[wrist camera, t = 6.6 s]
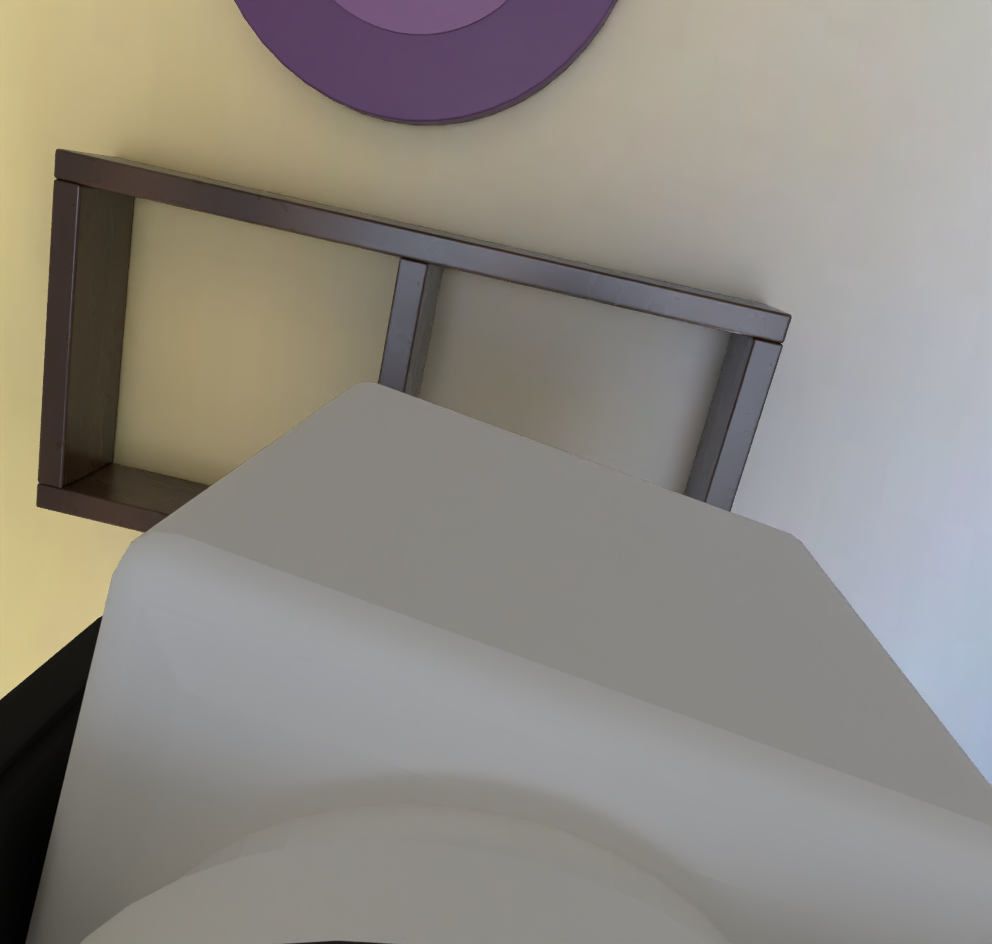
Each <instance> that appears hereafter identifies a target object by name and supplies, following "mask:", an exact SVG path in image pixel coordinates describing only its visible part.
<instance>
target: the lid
mask: <svg viewBox="0 0 992 944" xmlns="http://www.w3.org/2000/svg"><path fill="white" fill-rule="evenodd" d="M234 1H235V2H236V4H237V6H238V8H239V10H240V11H241V13H242V15H243V17H244V18H245V20H246V21H247V22H248V24H249V25H250V26H251V28H252V29H253V30H254V32H255V33H256V35H257V36H258V37H259V39H260V40H261V41H262V43H263V44H264V45H265V46H266V47H267V48H268V49H269V50H270V51H271V52H272V53H273V54H274V55H275V57H276V58H277V59H278V60H279V61H280V62H281V63H282V64H283V65H284V66H285V67H287V68H288V69H289V70H290V71H292V72H293V73H294V74H295V75H296V76H298V77H299V78H300V79H301V80H302V81H304V82H305V83H306V84H308V85H309V86H311V87H313V88H314V89H316V90H317V91H319V92H321V93H322V94H324V95H325V96H327V97H329V98H330V99H332V100H334V101H336V102H338V103H340V104H342V105H345V106H347V107H349V108H351V109H353V110H356V111H358V112H360V113H362V114H365V115H369V116H372V117H375V118H379V119H382V120H386V121H390V122H396V123H403V124H410V125H447V124H454V123H462V122H468V121H472V120H475V119H479V118H482V117H486V116H489V115H493V114H495V113H498V112H500V111H502V110H504V109H507V108H509V107H511V106H514V105H516V104H518V103H520V102H522V101H523V100H525V99H526V98H528V97H530V96H531V95H533V94H535V93H536V92H538V91H539V90H541V89H543V88H544V87H545V86H546V85H548V84H549V83H550V82H551V81H553V80H554V79H555V78H556V77H558V76H559V75H560V74H561V73H562V72H564V71H565V70H566V69H567V68H568V67H569V66H570V65H571V64H572V63H573V62H574V61H575V59H576V58H577V57H578V56H579V55H580V54H581V53H582V52H583V51H584V50H585V49H586V48H587V46H588V45H589V44H590V42H591V41H592V40H593V38H594V37H595V36H596V34H597V33H598V32H599V30H600V29H601V28H602V26H603V25H604V23H605V22H606V20H607V18H608V16H609V15H610V13H611V11H612V9H613V8H614V6H615V4H616V2H617V1H618V0H234Z"/></svg>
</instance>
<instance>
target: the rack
mask: <svg viewBox="0 0 992 944" xmlns="http://www.w3.org/2000/svg"><path fill="white" fill-rule="evenodd" d="M54 176H55V178H57V179H56V180H54V190H53V209H52V228H51V246H50V265H49V283H48V302H47V321H46V339H45V358H44V376H43V395H42V413H41V432H40V451H39V469H38V482H39V484H38V486H37V504H36V505H37V507H40V508H44V509H48V510H52V511H57V512H61V513H65V514H69V515H73V516H78V517H82V518H86V519H90V520H94V521H99V522H103V523H107V524H111V525H115V526H120V527H124V528H128V529H132V530H136V531H141V532H146V531H148V530H149V529H151V528H152V527H153V526H155V525H156V524H158V523H159V522H161V521H162V520H163V519H165V518H166V517H168V516H169V515H170V514H172V513H173V512H175V511H176V510H178V509H179V508H180V507H182V506H183V505H185V504H186V503H187V502H189V501H190V500H192V499H193V498H195V497H196V496H197V495H199V494H200V493H202V492H203V491H204V490H206V489H207V488H209V487H210V486H206V485H201V484H197V483H193V482H189V481H184V480H180V479H176V478H172V477H168V476H163V475H159V474H155V473H151V472H146V471H142V470H138V469H134V468H129V467H125V466H121V465H117V464H113V463H111V462H112V460H113V448H114V435H115V423H116V411H117V398H118V386H119V374H120V362H121V349H122V337H123V325H124V312H125V300H126V288H127V275H128V263H129V251H130V238H131V226H132V214H133V201H134V197H138V198H143V199H147V200H151V201H156V202H160V203H165V204H169V205H173V206H178V207H182V208H187V209H191V210H195V211H200V212H204V213H208V214H213V215H217V216H222V217H226V218H230V219H235V220H239V221H244V222H248V223H252V224H257V225H261V226H266V227H270V228H274V229H279V230H283V231H288V232H292V233H296V234H301V235H305V236H310V237H314V238H318V239H323V240H327V241H332V242H336V243H340V244H345V245H349V246H353V247H358V248H362V249H367V250H371V251H375V252H380V253H384V254H389V255H393V256H397V257H402V258H400V261H399V267H398V273H397V278H396V284H395V290H394V295H393V301H392V307H391V313H390V318H389V324H388V330H387V335H386V341H385V347H384V352H383V358H382V364H381V370H380V375H379V381H378V384H380V385H383V386H386V387H389V388H391V389H394V390H397V391H400V392H402V393H405V394H408V395H411V396H413V397H416V398H418V397H419V391H420V386H421V381H422V376H423V370H424V365H425V360H426V355H427V350H428V344H429V339H430V334H431V329H432V323H433V318H434V313H435V308H436V302H437V297H438V292H439V287H440V281H441V276H442V271H443V267H446V268H450V269H455V270H459V271H463V272H468V273H472V274H477V275H481V276H485V277H490V278H494V279H498V280H503V281H507V282H512V283H516V284H520V285H525V286H529V287H534V288H538V289H542V290H547V291H551V292H556V293H560V294H564V295H569V296H573V297H578V298H582V299H586V300H591V301H595V302H600V303H604V304H608V305H613V306H617V307H622V308H626V309H630V310H635V311H639V312H643V313H648V314H652V315H657V316H661V317H665V318H670V319H674V320H679V321H683V322H687V323H692V324H696V325H701V326H705V327H709V328H714V329H718V330H723V331H727V332H731V333H732V336H731V340H730V343H729V346H728V350H727V353H726V357H725V360H724V363H723V367H722V370H721V373H720V377H719V380H718V383H717V387H716V390H715V393H714V397H713V400H712V403H711V407H710V410H709V413H708V417H707V420H706V424H705V427H704V430H703V434H702V437H701V440H700V444H699V447H698V450H697V454H696V457H695V460H694V464H693V467H692V470H691V474H690V477H689V480H688V484H687V487H686V491H685V494H684V495H685V496H688V497H690V498H693V499H696V500H699V501H701V502H704V503H707V504H710V505H712V506H715V507H718V508H721V509H723V510H726V511H729V512H730V511H731V508H732V504H733V501H734V498H735V495H736V492H737V489H738V486H739V482H740V479H741V476H742V473H743V470H744V467H745V464H746V460H747V457H748V454H749V451H750V448H751V445H752V442H753V438H754V435H755V432H756V429H757V426H758V423H759V420H760V416H761V413H762V410H763V407H764V404H765V401H766V398H767V394H768V391H769V388H770V385H771V382H772V379H773V376H774V372H775V369H776V366H777V363H778V360H779V357H780V353H781V350H782V347H783V345H782V344H781V343H783V342H784V340H785V337H786V334H787V331H788V328H789V324H790V321H791V315H790V314H788V313H785V312H783V311H780V310H778V309H776V308H773V307H771V306H768V305H765V304H761V303H757V302H752V301H748V300H743V299H739V298H734V297H730V296H726V295H721V294H717V293H712V292H708V291H704V290H699V289H695V288H690V287H686V286H681V285H677V284H673V283H668V282H664V281H659V280H655V279H651V278H646V277H642V276H637V275H633V274H628V273H624V272H620V271H615V270H611V269H606V268H602V267H598V266H593V265H589V264H584V263H580V262H575V261H571V260H567V259H562V258H558V257H553V256H549V255H545V254H540V253H536V252H531V251H527V250H523V249H518V248H514V247H509V246H505V245H500V244H496V243H492V242H487V241H483V240H478V239H474V238H470V237H465V236H461V235H456V234H452V233H447V232H443V231H439V230H434V229H430V228H425V227H421V226H417V225H412V224H408V223H403V222H399V221H394V220H390V219H386V218H381V217H377V216H372V215H368V214H364V213H359V212H355V211H350V210H346V209H341V208H337V207H333V206H328V205H324V204H319V203H315V202H311V201H306V200H302V199H297V198H293V197H288V196H284V195H280V194H275V193H271V192H266V191H262V190H258V189H253V188H249V187H244V186H240V185H235V184H231V183H227V182H222V181H218V180H213V179H209V178H205V177H200V176H196V175H191V174H187V173H183V172H178V171H174V170H169V169H165V168H160V167H156V166H152V165H147V164H143V163H138V162H134V161H130V160H125V159H121V158H116V157H111V156H104V155H98V154H91V153H84V152H78V151H71V150H64V149H56V153H55V172H54Z"/></svg>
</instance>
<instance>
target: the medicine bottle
mask: <svg viewBox="0 0 992 944" xmlns="http://www.w3.org/2000/svg"><path fill="white" fill-rule="evenodd" d="M25 944H992V787H991V785H990V784H989V783H988V782H987V780H986V779H985V778H984V776H983V775H982V774H981V773H980V771H979V770H978V769H977V767H976V766H975V765H974V764H973V762H972V761H971V760H970V758H969V757H968V756H967V754H966V753H965V752H964V751H963V749H962V748H961V747H960V745H959V744H958V743H957V742H956V740H955V739H954V738H953V736H952V735H951V734H950V733H949V731H948V730H947V729H946V727H945V726H944V725H943V724H942V722H941V721H940V720H939V718H938V717H937V716H936V715H935V713H934V712H933V711H932V709H931V708H930V707H929V706H928V704H927V703H926V702H925V700H924V699H923V698H922V697H921V695H920V694H919V693H918V691H917V690H916V689H915V688H914V686H913V685H912V684H911V682H910V681H909V680H908V678H907V677H906V676H905V675H904V673H903V672H902V671H901V669H900V668H899V667H898V666H897V664H896V663H895V662H894V660H893V659H892V658H891V657H890V655H889V654H888V653H887V651H886V650H885V649H884V648H883V646H882V645H881V644H880V642H879V641H878V640H877V639H876V637H875V636H874V635H873V633H872V632H871V631H870V630H869V628H868V627H867V626H866V624H865V623H864V622H863V621H862V619H861V618H860V617H859V615H858V614H857V613H856V612H855V610H854V609H853V608H852V606H851V605H850V604H849V602H848V601H847V600H846V599H845V597H844V596H843V595H842V593H841V592H840V591H839V590H838V588H837V587H836V586H835V584H834V583H833V582H832V581H831V579H830V578H829V577H828V575H827V574H826V573H825V572H824V570H823V569H822V568H821V566H820V565H819V564H818V563H817V561H816V560H815V559H814V557H813V556H812V555H811V554H810V552H809V551H808V550H807V548H806V547H805V546H804V545H803V543H802V542H801V541H800V540H798V539H797V538H796V537H794V536H793V535H791V534H789V533H786V532H784V531H781V530H778V529H776V528H773V527H770V526H767V525H765V524H762V523H759V522H756V521H754V520H751V519H748V518H745V517H743V516H740V515H737V514H734V513H732V512H729V511H726V510H723V509H721V508H718V507H715V506H712V505H710V504H707V503H704V502H701V501H699V500H696V499H693V498H690V497H688V496H685V495H682V494H679V493H677V492H674V491H671V490H669V489H666V488H663V487H660V486H658V485H655V484H652V483H649V482H647V481H644V480H641V479H638V478H636V477H633V476H630V475H627V474H625V473H622V472H619V471H616V470H614V469H611V468H608V467H605V466H603V465H600V464H597V463H594V462H592V461H589V460H586V459H583V458H581V457H578V456H575V455H572V454H570V453H567V452H564V451H562V450H559V449H556V448H553V447H551V446H548V445H545V444H542V443H540V442H537V441H534V440H531V439H529V438H526V437H523V436H520V435H518V434H515V433H512V432H509V431H507V430H504V429H501V428H498V427H496V426H493V425H490V424H487V423H485V422H482V421H479V420H476V419H474V418H471V417H468V416H465V415H463V414H460V413H457V412H455V411H452V410H449V409H446V408H444V407H441V406H438V405H435V404H433V403H430V402H427V401H424V400H422V399H419V398H416V397H413V396H411V395H408V394H405V393H402V392H400V391H397V390H394V389H391V388H389V387H386V386H383V385H380V384H378V383H372V382H361V383H359V384H357V385H354V386H352V387H350V388H349V389H348V390H346V391H345V392H343V393H342V394H341V395H339V396H338V397H336V398H335V399H333V400H332V401H331V402H329V403H328V404H326V405H325V406H324V407H322V408H321V409H319V410H318V411H316V412H315V413H314V414H312V415H311V416H309V417H308V418H307V419H305V420H304V421H302V422H301V423H299V424H298V425H297V426H295V427H294V428H292V429H291V430H290V431H288V432H287V433H285V434H284V435H282V436H281V437H280V438H278V439H277V440H275V441H274V442H273V443H271V444H270V445H268V446H267V447H265V448H264V449H263V450H261V451H260V452H258V453H257V454H255V455H254V456H253V457H251V458H250V459H248V460H247V461H246V462H244V463H243V464H241V465H240V466H238V467H237V468H236V469H234V470H233V471H231V472H230V473H229V474H227V475H226V476H224V477H223V478H221V479H220V480H219V481H217V482H216V483H214V484H213V485H212V486H210V487H209V488H207V489H206V490H204V491H203V492H202V493H200V494H199V495H197V496H196V497H195V498H193V499H192V500H190V501H189V502H187V503H186V504H185V505H183V506H182V507H180V508H179V509H178V510H176V511H175V512H173V513H172V514H170V515H169V516H168V517H166V518H165V519H163V520H162V521H161V522H159V523H158V524H156V525H155V526H153V527H152V528H151V529H149V530H148V531H146V532H145V533H144V534H142V535H141V536H139V537H138V538H136V539H135V540H134V541H132V542H131V544H130V545H129V547H128V549H127V550H126V552H125V554H124V555H123V557H122V559H121V560H120V562H119V564H118V566H117V568H116V569H115V571H114V573H113V575H112V579H111V583H110V587H109V591H108V596H107V600H106V604H105V608H104V613H103V617H102V621H101V625H100V629H99V634H98V638H97V642H96V646H95V651H94V655H93V659H92V663H91V668H90V672H89V676H88V680H87V684H86V689H85V693H84V697H83V701H82V706H81V710H80V714H79V718H78V723H77V727H76V731H75V735H74V739H73V744H72V748H71V752H70V756H69V761H68V765H67V769H66V773H65V778H64V782H63V786H62V790H61V794H60V799H59V803H58V807H57V811H56V816H55V820H54V824H53V828H52V833H51V837H50V841H49V845H48V849H47V854H46V858H45V862H44V866H43V871H42V875H41V879H40V883H39V888H38V892H37V896H36V900H35V904H34V909H33V913H32V917H31V921H30V926H29V930H28V934H27V938H26V943H25Z"/></svg>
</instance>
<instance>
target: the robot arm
mask: <svg viewBox="0 0 992 944" xmlns="http://www.w3.org/2000/svg"><path fill="white" fill-rule="evenodd" d="M102 617H103V616H101V617H100V618H98V619H97V620H96V621H95V622H93V623H92V624H91V625H90V626H89V627H87V628H86V629H85V630H84V631H83V632H81V633H80V634H79V635H78V636H77V637H75V638H74V639H73V640H72V641H71V642H69V643H68V644H67V645H66V646H65V647H63V648H62V649H61V650H60V651H59V652H57V653H56V654H55V655H54V656H53V657H51V658H50V659H49V660H48V661H47V662H45V663H44V664H43V665H42V666H41V667H39V668H38V669H37V670H36V671H35V672H33V673H32V674H31V675H30V676H29V677H27V678H26V679H25V680H24V681H23V682H21V683H20V684H19V685H18V686H17V687H15V688H14V689H13V690H12V691H11V692H9V693H8V694H7V695H6V696H5V697H3V698H2V699H1V700H0V944H25V943H26V938H27V934H28V930H29V926H30V921H31V917H32V913H33V909H34V904H35V900H36V896H37V892H38V888H39V883H40V879H41V875H42V871H43V866H44V862H45V858H46V854H47V849H48V845H49V841H50V837H51V833H52V828H53V824H54V820H55V816H56V811H57V807H58V803H59V799H60V794H61V790H62V786H63V782H64V778H65V773H66V769H67V765H68V761H69V756H70V752H71V748H72V744H73V739H74V735H75V731H76V727H77V723H78V718H79V714H80V710H81V706H82V701H83V697H84V693H85V689H86V684H87V680H88V676H89V672H90V668H91V663H92V659H93V655H94V651H95V646H96V642H97V638H98V634H99V629H100V625H101V621H102Z"/></svg>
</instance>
